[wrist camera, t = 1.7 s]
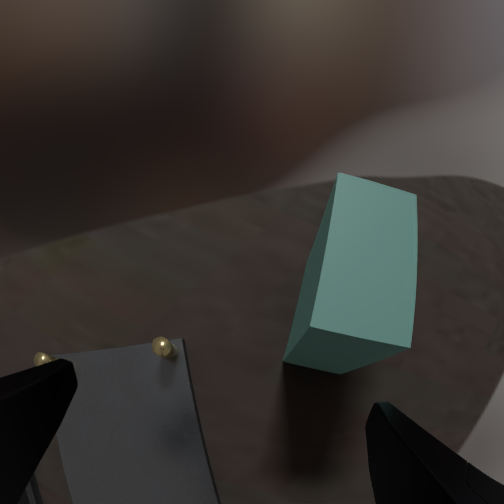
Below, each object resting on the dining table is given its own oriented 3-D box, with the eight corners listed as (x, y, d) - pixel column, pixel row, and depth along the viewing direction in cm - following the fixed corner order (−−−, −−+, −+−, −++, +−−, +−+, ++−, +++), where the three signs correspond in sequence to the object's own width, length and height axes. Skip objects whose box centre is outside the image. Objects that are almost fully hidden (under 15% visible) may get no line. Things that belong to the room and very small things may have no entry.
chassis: (227, 527, 16) (224, 546, 12) (87, 526, 14) (67, 538, 11) (184, 340, 22) (173, 329, 19) (54, 357, 21) (30, 349, 18)
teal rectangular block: (340, 374, 21) (410, 347, 11) (282, 361, 22) (309, 326, 12) (358, 276, 25) (416, 195, 15) (306, 263, 25) (338, 172, 15)
